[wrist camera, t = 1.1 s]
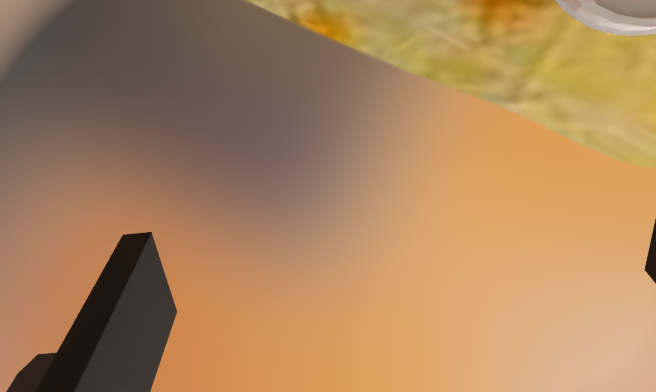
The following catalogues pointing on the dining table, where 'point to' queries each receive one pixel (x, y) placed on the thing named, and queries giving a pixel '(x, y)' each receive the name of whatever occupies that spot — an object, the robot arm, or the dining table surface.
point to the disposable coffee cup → (614, 15)
